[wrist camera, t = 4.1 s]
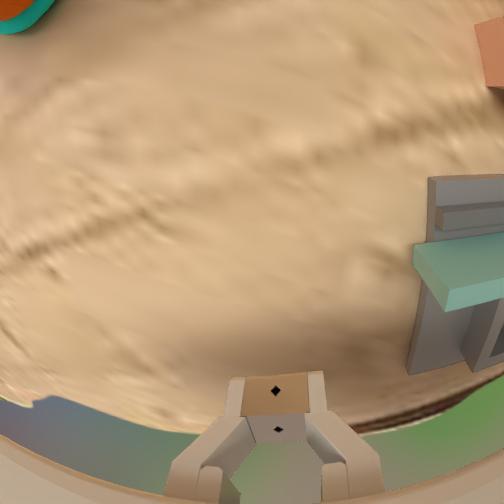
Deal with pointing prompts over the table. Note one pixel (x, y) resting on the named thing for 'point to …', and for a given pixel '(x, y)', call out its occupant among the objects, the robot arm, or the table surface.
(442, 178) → the housing
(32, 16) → the toy shoe
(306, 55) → the table surface
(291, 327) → the table surface
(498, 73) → the peach button block
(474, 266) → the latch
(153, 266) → the table surface
